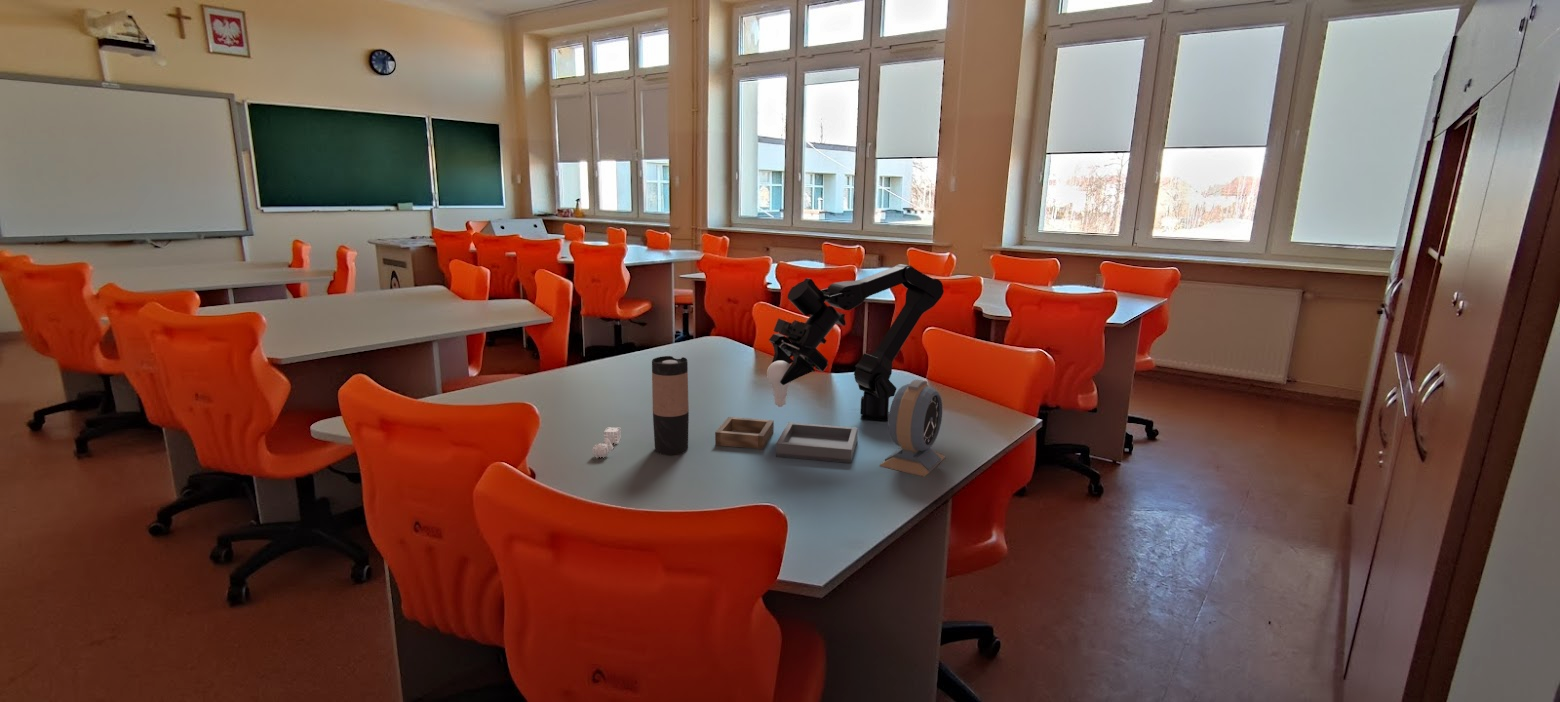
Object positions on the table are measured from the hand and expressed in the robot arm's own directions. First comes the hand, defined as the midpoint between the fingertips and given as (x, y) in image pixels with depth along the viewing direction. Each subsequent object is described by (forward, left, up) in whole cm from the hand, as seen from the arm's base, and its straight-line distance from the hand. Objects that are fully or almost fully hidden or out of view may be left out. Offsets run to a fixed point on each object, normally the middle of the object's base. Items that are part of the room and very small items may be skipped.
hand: (774, 380), depth 160 cm
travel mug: (+20, +15, -13) cm, 28 cm away
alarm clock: (-32, +10, -13) cm, 36 cm away
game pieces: (+33, +18, -13) cm, 40 cm away
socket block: (+6, +5, -13) cm, 15 cm away
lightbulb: (-1, -1, -7) cm, 7 cm away
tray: (-11, +7, -13) cm, 18 cm away
